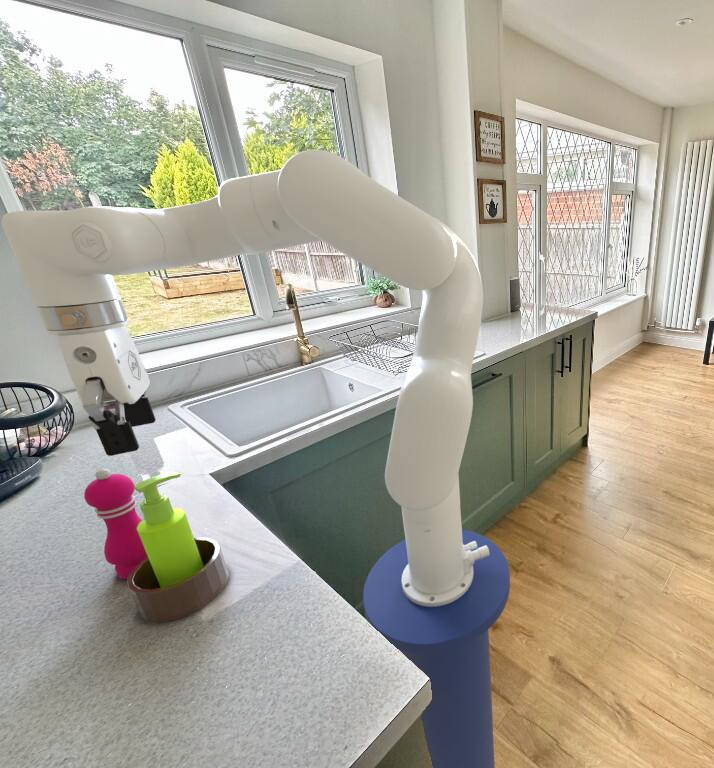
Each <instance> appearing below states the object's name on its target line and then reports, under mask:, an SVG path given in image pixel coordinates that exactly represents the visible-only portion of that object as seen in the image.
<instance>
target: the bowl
mask: <svg viewBox="0 0 714 768" xmlns="http://www.w3.org/2000/svg"><path fill="white" fill-rule="evenodd" d="M194 540H195V543H196V545H197V548H198V551H199V554H200V557H201V560H202V562H203V565H204V567H203V568H202V569H201V570H200V571H198V572H197V573H195V574H194V575H192V576H191V577H189V578H187V579H185V580H182V581H180V582H178V583H176V584H173V585H170V586H167V587H164V588H161V587H160V585H159V582H158V580H157V577H156V575H155V573H154V570H153V568H152V565H151V563H150V560H149V558H148V557H147V558H146V559H144V560H143V561H142V562H140V563H139V564H138V565H137V566H136V567H135V569H134V570H133V571H132V572H131V573H130V575H129V578H128V579H126V580H127V581H126V583H127V588H128V590H129V592H130V595H131V597H132V599H133V601H134V604H135V606H136V608H137V611H138V613H139V614H140V616H141V618H142V619H144V620H145V621H147V622H149V623H157V624H158V623H159V624H160V623H168V622H172V621H177V620H180V619H183V618H185V617H187V616H189V615H191V614H194V613H195V612H198V611H199V610H201V609H202V608H204V607H206V606H207V605H209V603H211V602H212V601H213V600H215V599H216V598H217V597H218V596H219V595H220V594H221V592H222V591H223V590H224V589H225V587H226V586H227V583H228V581H229V576H230V575H229V571H228V570H229V569H228V567H227V566H228V565H227V563H226V560H225V557H224V554H223V552H222V547H221V545H220V543H219V542H218V540H216V539H213V538H211V537H203V536H199V537H194Z"/></svg>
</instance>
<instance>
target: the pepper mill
mask: <svg viewBox="0 0 714 768" xmlns="http://www.w3.org/2000/svg"><path fill="white" fill-rule="evenodd" d="M94 477H95V479H93V480H92V481H91V482H90V483H89V484H88V485H86V487H85V490H84V492H83V495H84V496H83V497H84V500H85V502H86V504H87V505H88V506H90V507H92V508H94V512H95V513H96V517H97V518H99V519H101V520H103V522H104V524H105V525H106V531H107V534H106V539H105V542H104V549H103V554H104V559H105V560H106V562H107V563H108V564H110V565H112V566H114V570H115V572H116V575H117V577H118V578H120V579H122V580H128V578H129V575H130V573H131V572H132V571H133V570H134V569H135V567H136V566H137V565H138V564H139V563H140V562H142V561H143V560H144V559H146V558H147V557H148V555H147V553H146V551H145V548H144V546H143V543H142V541H141V538H140V536H139V533H138V531H137V526H138V524H139V523H140V522H141V521H142V520H143V519H142V518H141V517H140V516H139V515H138V513H137V511H136V506H137V504H138V501H137V500H136V496H135V495H133V494H134V492H135V488H134V485H135V483H134V481H133V480H132V478H130V477H129V476H127V475H125V474H123V473H111V470H110V469H108V468H100V469H98V470H97V471H96V472H95V475H94Z"/></svg>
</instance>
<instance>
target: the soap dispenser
mask: <svg viewBox="0 0 714 768" xmlns="http://www.w3.org/2000/svg"><path fill="white" fill-rule="evenodd" d="M181 475H182V473H181V472H179V471H178V470H171V471H167V472H163V473H159V474H156V475H154V476H152V477H149V478H147V479H145V480H143V481H141V482H138V483H136V484H134V488H135V489H134V491H137V492H138V493H142V494H143V496H144V500H143V501H141V503H140V504H139V507H140V510H141V512H142V515H143V517H144V519H142V521H141V522H140V523H139V524H138V526H137V531H138V533H139V536H140V538H141V541H142V543H143V546H144V548H145V551H146V553H147V555H148V558H149V560H150V563H151V565H152V568H153V570H154V573H155V575H156V577H157V580H158V582H159V585H160V587H161V588H164V587H167V586H170V585H173V584H176V583H178V582H180V581H182V580H185V579H187V578H189V577H191V576H192V575H194V574H195V573H197V572H198V571H200V570H201V569H202V568H203V567H204V565H203V562H202V560H201V557H200V554H199V551H198V548H197V545H196V543H195V540H194V538H195V537H194V534H193V531H192V529H191V528H192V527H191V526H190V523H189V520H188V517H187V515H186V511H185V510H184V509H183V508H179V507H173V506H172V504H171V500H170V498H169V496H168V495H167V494H160V492H159V489H158V487H157V486H158V485H160V484H163V483H164V482H167V481H171V480H174V479H178V478H180V477H181Z"/></svg>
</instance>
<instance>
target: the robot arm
mask: <svg viewBox="0 0 714 768" xmlns="http://www.w3.org/2000/svg"><path fill="white" fill-rule="evenodd" d="M1 226H2V230H3V232H4V235H5V237H6V239H7V241H8V244H9V246H10V248H11V250H12V253H13V255H14V257H15V260H16V262H17V264H18V267H19V269H20V271H21V274H22V276H23V278H24V281H25V283H26V285H27V288H28V290H29V292H30V294H31V297H32V300H33V302H34V304H35V306H36V308H37V311H38V313H39V316H40V317H41V321H42V322H43V325H44V327H45V329H46V332H47V334H48V335H52V336H56V337H57V339H58V343H59V346H60V349H61V352H62V353H61V354H62V356H63V359H64V362H65V365H66V368H67V371H68V374H69V377H70V379H71V381H72V384H73V386H74V388H75V391H76V394H77V395H78V397H79V400H80V401H81V403H82V407H83V409H84V411H85V412H86V413H87V414H88V419H89V421H90V422H91V423H92V428H93V429H94V430H95V431H96V434H97V436H98V439H99V441H100V443H101V445H102V447H103V449H104V452H105V454H106V455H107V456H108V457H111V456H112V457H113V456H117V455H122V454H127V453H131V452H136V451H138V450H139V448H140V445H139V442H138V439H137V436H136V434H135V432H134V429H133V428H134V427H140V426H144V425H150V424H154V423H155V422H156V420H157V419H156V416H155V413H154V411H153V408H152V405H151V402H150V400H149V397H148V396H147V390H148V388H149V386H150V384H151V380H150V377H149V374H148V372H147V369H146V367H145V365H144V361H143V360H142V358H141V355H140V353H139V350H138V348H137V346H136V344H135V342H134V339H133V337H132V336H131V333H130V331H129V330H128V328H127V326H128V325H129V324H130V321H129V318H128V315H127V311H126V310H125V306H124V304H123V301H122V298H121V296H120V293H119V291H118V288H117V285H116V283H115V279H114V276H127V275H136V274H143V273H148V272H156V271H164V270H171V269H172V270H173V269H178V268H184V267H188V266H189V267H190V266H194V265H198V264H203V263H208V262H213V261H217V260H222V259H227V258H232V257H236V256H242V255H249V256H254V255H258V254H263V253H268V252H273V251H278V250H282V249H287V248H291V247H296V246H302V245H306V244H311V243H316V242H323V243H325V244H326V245H328V246H330V247H331V248H333V249H335V250H336V251H338V252H340V253H341V254H343V255H345V256H347V257H348V258H350V259H352V260H354V261H356V263H360V264H361V265H362V266H365V267H366V268H368V269H370V270H371V271H373V272H375V273H376V274H378V275H380V276H382V277H384V278H385V279H387V280H389V281H391V282H392V283H394V284H397V285H398V286H401V287H404V288H405V289H409V290H414V291H421V292H422V300H421V301H422V302H421V308H420V314H419V319H418V326H417V328H418V329H417V334H416V339H415V343H414V348H413V349H414V350H413V354H412V358H411V361H410V364H409V366H408V368H407V371H406V373H405V375H404V379H403V381H402V384H401V386H400V389H399V394H398V397H397V402H396V407H395V413H394V416H393V417H394V419H393V424H392V429H391V435H390V439H389V440H390V441H389V447H388V452H387V458H386V464H385V469H384V470H385V471H384V483H385V487H386V490H387V492H388V493H389V495H390V497H391V498H392V499H393V500H394V502H395V503H396V504H398V505H399V506H400V507H401V516H402V524H403V531H404V537H405V538H404V540H406V548H407V556H408V565H407V566H406V567H405V569H404V571H403V574H402V581H401V582H402V588H403V592H404V594H405V595H406V597H407V598H408V599H409V600H410V601H412V602H414V603H415V604H418V605H421V606H427V607H437V606H442V605H446V604H449V603H451V602H453V601H455V600H457V599H458V598H460V597H461V596H462V595H464V593H465V592H466V591H467V590H468V589H469V587H470V585H471V583H472V581H473V575H474V572H473V565H472V564H474V561H476V560H478V559H482V558H485V557H487V556H489V555H490V553H489V549H488V547H487V546H486V545H485V546H483V547H480V548H478V549H477V550H474V551H472V552H471V551H470V550H473V549H476V548H477V543H476V541H473V542H471V543H468V544H466V545H463V539H462V530H463V525H462V513H461V493H460V492H461V491H460V477H459V476H460V475H459V472H460V467H461V464H462V461H463V460H462V459H463V456H464V452H465V447H466V443H467V439H468V435H469V431H470V427H471V421H472V418H473V417H472V416H473V408H474V395H473V384H472V369H473V364H474V357H475V353H476V349H477V344H478V339H479V334H480V328H481V322H482V317H483V307H484V289H483V288H484V287H483V281H482V278H481V274H480V271H479V267H478V264H477V262H476V259H475V257H474V256H473V254H472V252H471V250H470V249H469V248H468V246H467V245H466V244H465V243H464V241H463V240H462V239H461V238H460V237H459V236H458V235H457V233H456V232H455V231H453V229H451V228H450V227H449V226H448V225H446V224H445V223H444V222H443V221H441V219H438V218H437V217H434V216H432V215H430V214H429V213H428V212H426V211H424V210H422V209H421V208H419V207H417V206H416V205H414V204H413V203H411V202H409V201H408V200H406V199H405V198H403V197H401V196H400V195H398V194H396V193H395V192H393V191H392V190H390V189H389V188H387V187H385V186H384V185H382V184H380V183H379V182H377V181H376V180H374V179H372V177H370V176H368V175H367V174H365V173H364V172H363V171H362V170H361V169H360V168H358V167H357V166H356V165H355V164H353V163H352V162H350V161H349V160H346V159H345V158H344V157H342V156H340V155H339V154H336V153H334V152H331V151H328V150H323V149H306V150H303V151H299V152H298V153H296V154H293V155H292V156H291V157H290V158H289V159H287V160H286V162H285V163H284V164H283V165H282V167H281V169H277V170H272V171H267V172H262V173H261V172H260V173H256V174H251V175H245V176H240V177H234V178H229V179H227V180H225V181H222V182H221V184H220V186H219V188H218V194H217V195H216V196H213V197H211V198H208V199H205V200H201V201H198V202H193V203H187V204H183V205H177V206H172V207H171V206H170V207H166V208H165V207H164V208H157V209H150V208H147V209H146V208H139V207H124V206H121V207H118V206H99V205H98V206H96V205H95V206H86V207H78V208H74V209H68V210H16V211H9V212H7V213H5V214H4V215H3V216H2V218H1ZM111 410H114V413H113V412H112V411H111Z"/></svg>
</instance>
